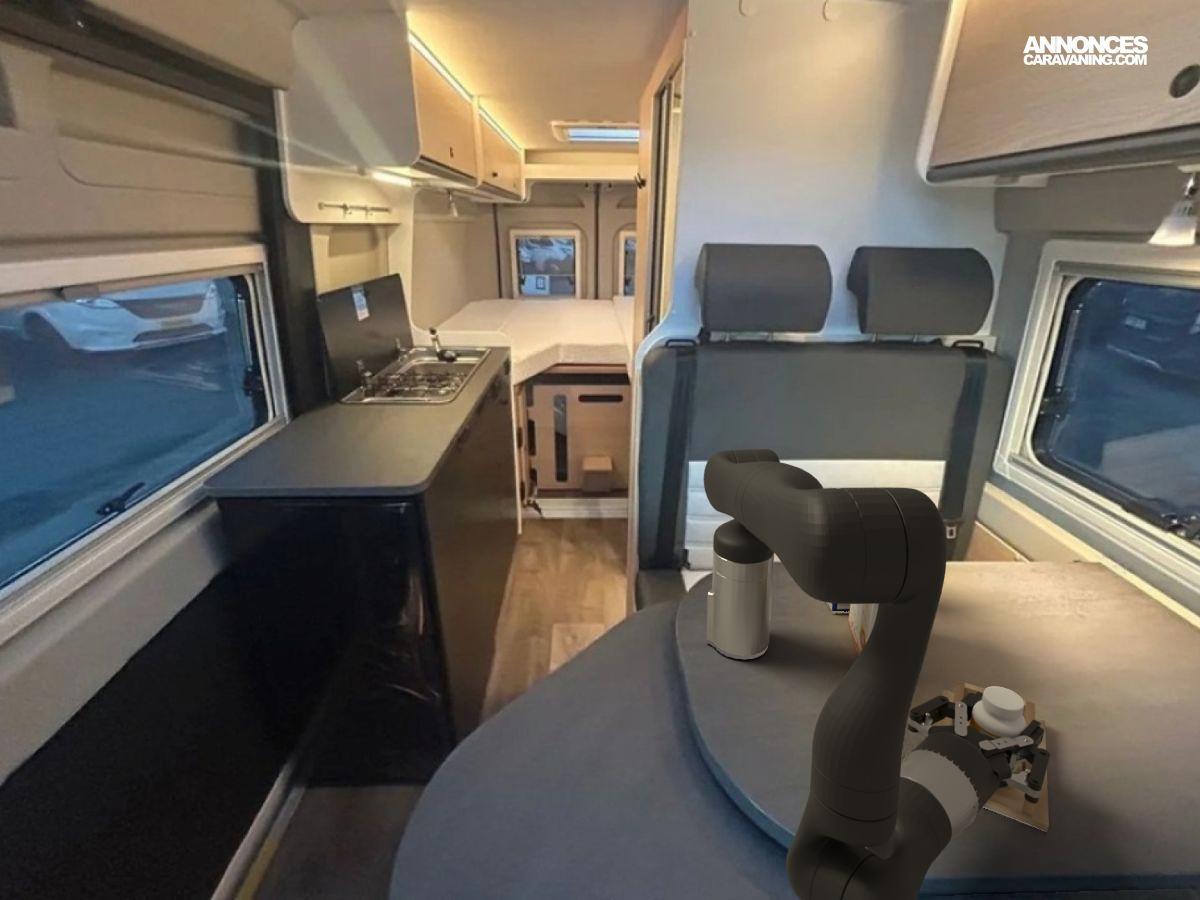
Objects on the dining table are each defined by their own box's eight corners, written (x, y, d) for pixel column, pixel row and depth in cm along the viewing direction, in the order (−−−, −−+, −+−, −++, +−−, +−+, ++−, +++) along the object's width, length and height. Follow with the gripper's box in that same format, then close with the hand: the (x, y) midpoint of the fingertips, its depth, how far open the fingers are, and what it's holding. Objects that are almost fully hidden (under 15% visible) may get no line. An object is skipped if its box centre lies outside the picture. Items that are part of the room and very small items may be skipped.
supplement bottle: (971, 738, 78) (984, 675, 75) (1021, 762, 74) (1037, 696, 71) (956, 763, 74) (970, 697, 71) (1008, 790, 71) (1024, 721, 68)
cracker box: (906, 681, 91) (925, 555, 84) (862, 677, 93) (878, 553, 86) (885, 625, 104) (900, 512, 97) (847, 621, 106) (859, 510, 99)
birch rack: (925, 786, 74) (929, 763, 73) (941, 694, 89) (945, 674, 87) (1047, 833, 68) (1053, 809, 67) (1043, 726, 82) (1048, 705, 81)
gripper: (1022, 806, 58) (1086, 721, 67) (876, 718, 69) (949, 656, 78) (1007, 865, 60) (1071, 775, 70) (869, 771, 71) (941, 704, 81)
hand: (1007, 712), depth 74 cm, fingers closed on supplement bottle, 5 cm apart
